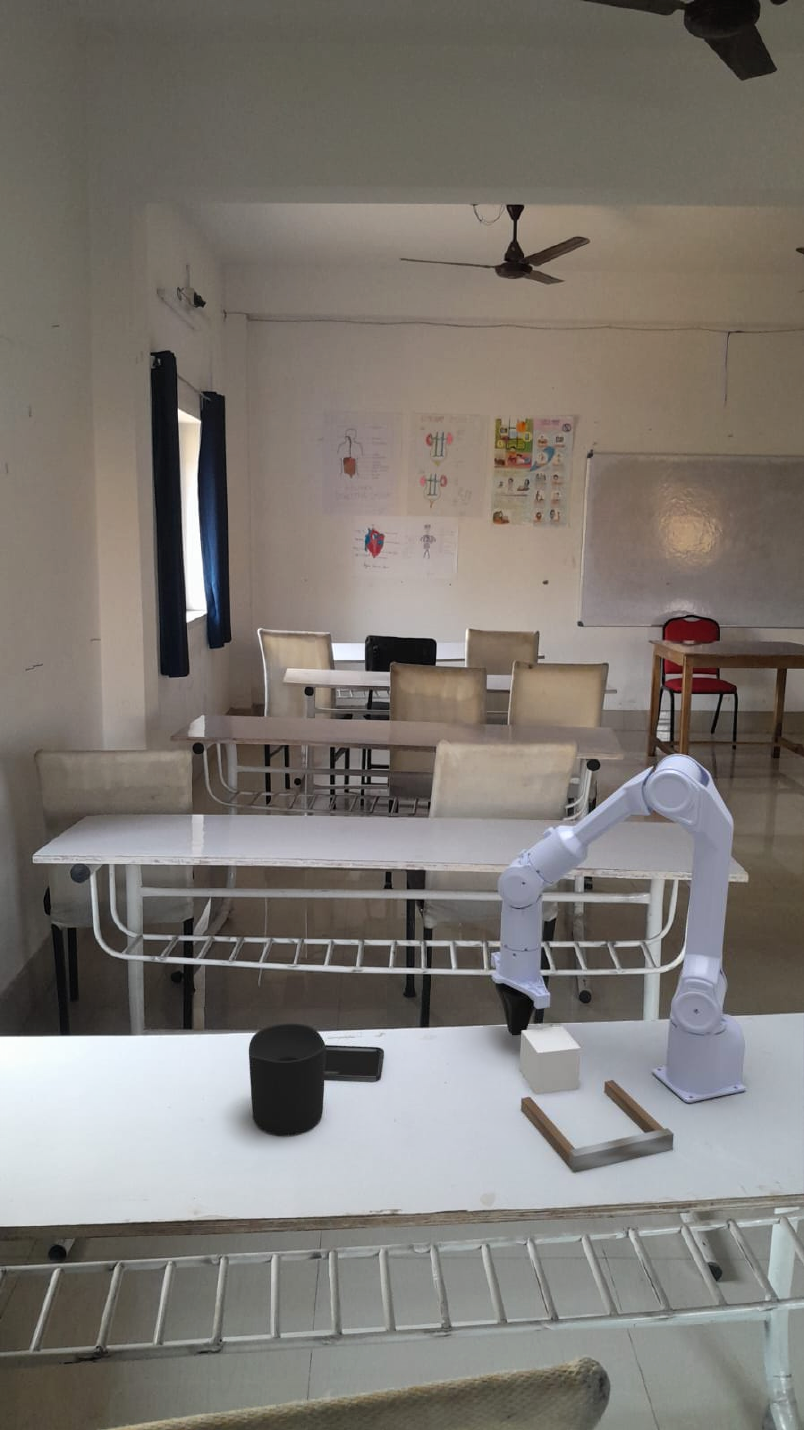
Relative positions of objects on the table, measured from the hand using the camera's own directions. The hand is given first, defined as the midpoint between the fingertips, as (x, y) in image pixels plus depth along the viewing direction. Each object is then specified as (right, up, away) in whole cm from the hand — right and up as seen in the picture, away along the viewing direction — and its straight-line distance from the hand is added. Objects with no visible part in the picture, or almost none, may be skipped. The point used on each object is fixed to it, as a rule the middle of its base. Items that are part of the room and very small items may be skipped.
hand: (517, 1032), depth 138 cm
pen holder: (-31, -5, -18) cm, 36 cm away
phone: (-27, -3, -6) cm, 27 cm away
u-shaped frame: (+7, -5, -19) cm, 21 cm away
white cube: (+3, -4, -8) cm, 10 cm away
